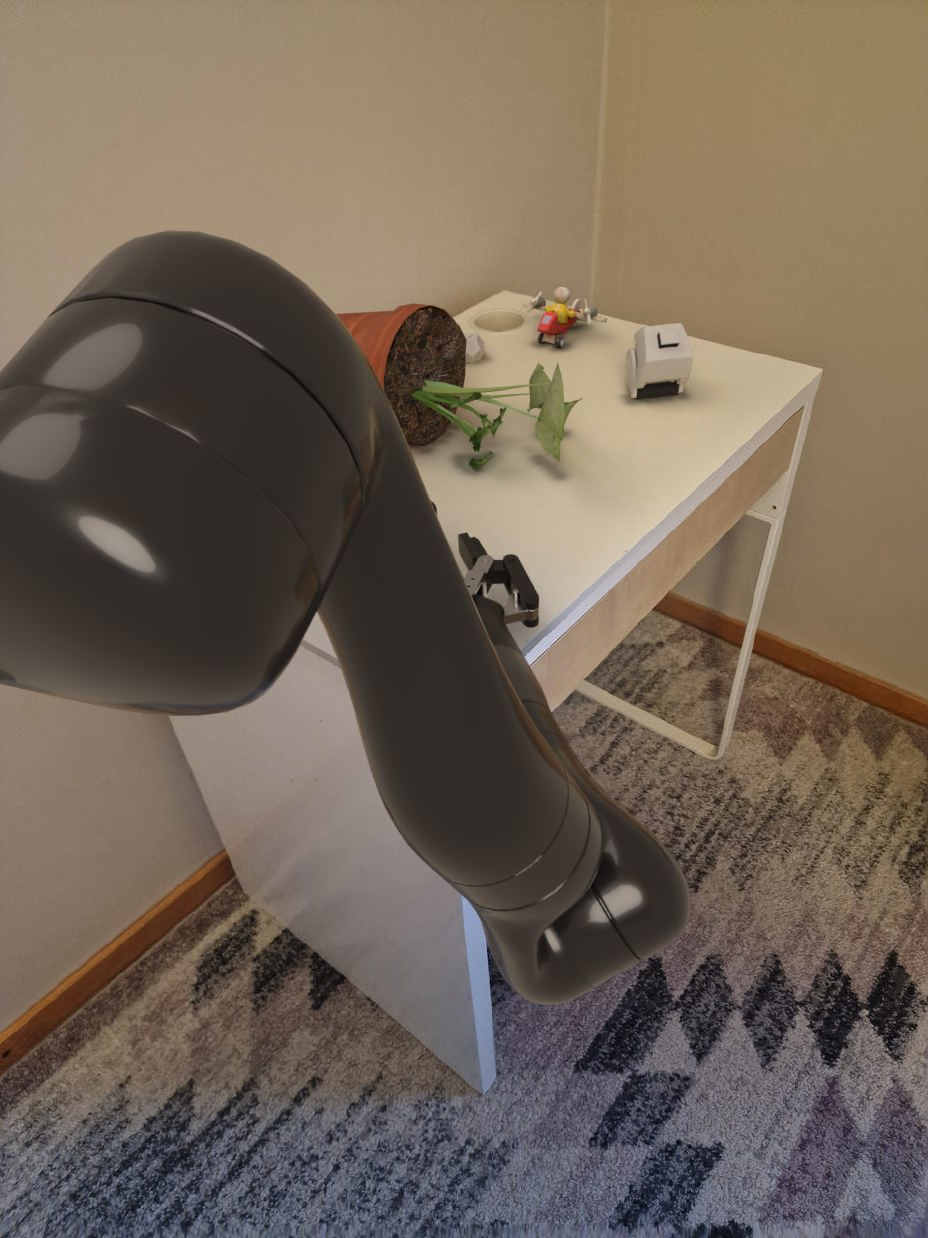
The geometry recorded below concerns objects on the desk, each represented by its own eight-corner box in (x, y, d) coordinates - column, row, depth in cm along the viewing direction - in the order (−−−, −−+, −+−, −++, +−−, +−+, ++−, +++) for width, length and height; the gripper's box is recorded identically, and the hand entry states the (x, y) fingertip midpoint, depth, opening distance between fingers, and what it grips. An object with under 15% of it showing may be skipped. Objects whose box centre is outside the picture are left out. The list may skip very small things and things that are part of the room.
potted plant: (302, 457, 95) (583, 522, 78) (272, 318, 86) (581, 356, 69) (388, 406, 105) (654, 453, 88) (369, 277, 96) (660, 301, 79)
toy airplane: (539, 353, 108) (539, 303, 104) (521, 326, 115) (521, 278, 111) (608, 343, 109) (611, 293, 105) (586, 317, 116) (588, 269, 112)
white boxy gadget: (626, 408, 100) (648, 370, 90) (617, 356, 101) (637, 312, 91) (675, 403, 100) (702, 364, 90) (666, 350, 101) (691, 306, 91)
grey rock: (451, 362, 108) (450, 339, 106) (466, 351, 110) (465, 328, 108) (476, 367, 106) (474, 344, 104) (490, 355, 109) (489, 332, 107)
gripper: (580, 622, 55) (494, 494, 66) (364, 680, 52) (314, 535, 64) (576, 702, 60) (496, 570, 71) (379, 760, 57) (330, 612, 68)
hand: (410, 554), depth 67 cm, fingers open, 8 cm apart
